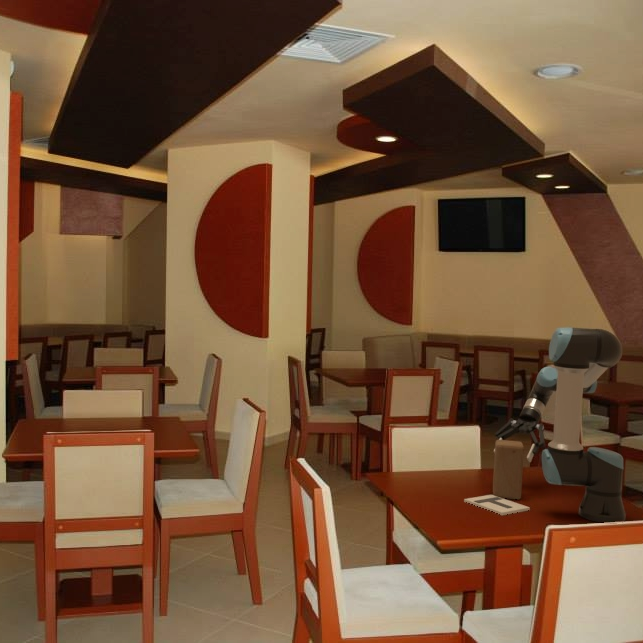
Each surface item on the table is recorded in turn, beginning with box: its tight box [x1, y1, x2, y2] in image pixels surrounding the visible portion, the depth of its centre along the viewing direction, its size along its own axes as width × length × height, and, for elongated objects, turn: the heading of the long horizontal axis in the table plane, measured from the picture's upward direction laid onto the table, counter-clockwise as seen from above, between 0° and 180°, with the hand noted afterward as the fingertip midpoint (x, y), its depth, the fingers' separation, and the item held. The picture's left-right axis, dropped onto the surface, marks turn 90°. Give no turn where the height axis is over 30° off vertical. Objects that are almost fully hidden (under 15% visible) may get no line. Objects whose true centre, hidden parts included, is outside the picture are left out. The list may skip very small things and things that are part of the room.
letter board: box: [463, 494, 531, 516], centre depth 275 cm, size 18×14×1 cm
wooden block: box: [492, 439, 525, 501], centre depth 289 cm, size 10×10×20 cm
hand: (511, 456), depth 293 cm, fingers open, 13 cm apart
